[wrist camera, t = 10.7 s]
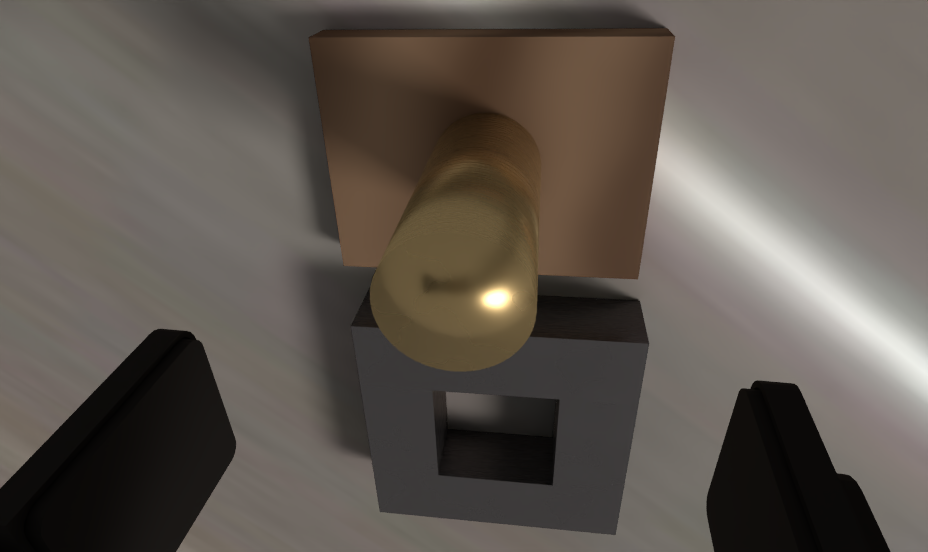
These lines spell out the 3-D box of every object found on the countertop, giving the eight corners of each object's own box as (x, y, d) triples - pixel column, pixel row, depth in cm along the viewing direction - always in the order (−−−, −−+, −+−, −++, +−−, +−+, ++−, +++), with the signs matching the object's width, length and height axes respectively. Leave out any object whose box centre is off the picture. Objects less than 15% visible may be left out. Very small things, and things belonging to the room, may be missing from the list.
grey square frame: (639, 300, 26) (649, 343, 23) (610, 485, 32) (615, 535, 29) (369, 287, 27) (350, 325, 25) (393, 466, 33) (379, 511, 31)
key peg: (543, 112, 20) (540, 235, 13) (539, 217, 22) (533, 375, 15) (429, 111, 21) (360, 229, 13) (435, 214, 23) (378, 366, 15)
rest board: (667, 28, 20) (675, 36, 19) (633, 260, 25) (638, 279, 23) (323, 29, 21) (308, 37, 20) (353, 248, 26) (343, 265, 25)
